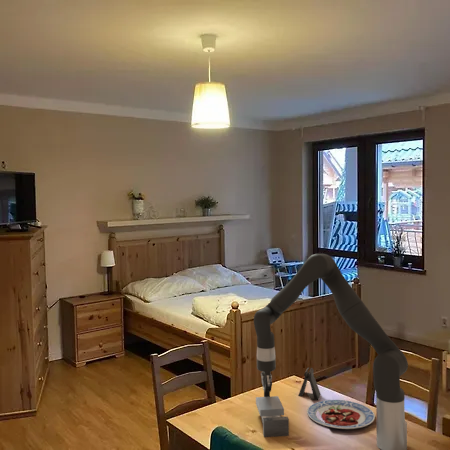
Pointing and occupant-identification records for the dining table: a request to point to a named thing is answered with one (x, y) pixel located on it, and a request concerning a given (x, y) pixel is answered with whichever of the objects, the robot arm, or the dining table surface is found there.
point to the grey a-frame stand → (314, 386)
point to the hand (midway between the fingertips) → (266, 399)
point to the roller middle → (268, 416)
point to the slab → (269, 406)
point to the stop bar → (275, 426)
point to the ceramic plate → (341, 414)
